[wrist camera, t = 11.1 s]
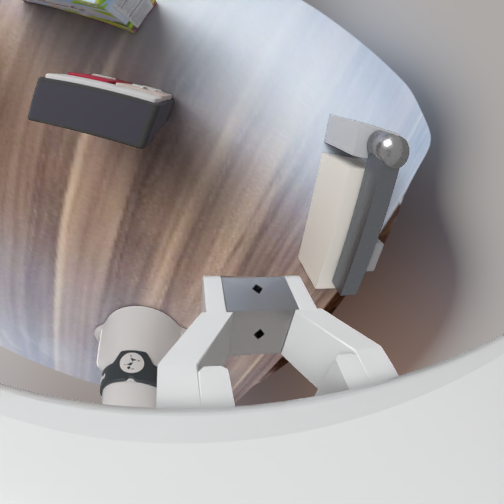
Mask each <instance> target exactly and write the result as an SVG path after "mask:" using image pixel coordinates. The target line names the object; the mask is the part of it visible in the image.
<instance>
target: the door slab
mask: <svg viewBox="0 0 504 504" xmlns="http://www.w3.org/2000/svg"><path fill="white" fill-rule="evenodd" d="M365 167H366V163H365V162H363V161H361V160H359V159H357V158H352V157H347V156H341V155H336V154H331V153H325V152H322V155H321V160H320V165H319V169H318V174H317V179H316V183H315V188H314V192H313V197H312V201H311V205H310V210H309V214H308V218H307V222H306V227H305V231H304V235H303V239H302V243H301V247H300V251H299V255H298V259H299V260H300V262H301V264H302V265H303V267H304V269H305V271H306V272H307V274H308V276H309V278H310V280H311V281H312V283H313V285H314V287H315V288H316V289H324V288H335V286H334V284H333V283H332V279H333V276H334V273H335V270H336V267H337V264H338V261H339V258H340V255H341V252H342V249H343V246H344V242H345V239H346V236H347V232H348V229H349V226H350V222H351V219H352V216H353V212H354V208H355V205H356V201H357V198H358V194H359V190H360V186H361V183H362V179H363V175H364V171H365ZM383 245H384V244H383V243H382V242H381V241H380V240H379V239H377V242H376V245H375V248H374V250H373V253H372V256H371V259H370V261H369V264H368V266H367V269H366V271H374V268H375V266H376V263H377V261H378V258H379V256H380V253H381V251H382V248H383Z"/></svg>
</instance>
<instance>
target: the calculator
mask: <svg viewBox="0 0 504 504" xmlns="http://www.w3.org/2000/svg"><path fill="white" fill-rule="evenodd" d="M171 98H172V95H171V94H168V93H165V92H163V90H159V89H156V88H152V87H149V86H146V85H142V86H141V85H137V84H132V83H130V82H126V81H122V80H118V79H116V78H113V77H109V76H104V75H100V74H93V73H92V74H82V73H71V72H68V73H67V74H46V76H45V77H40V78H39V79H38V81H37V85H36V88H35V92H34V95H33V99H32V103H31V106H30V111H29V115H28V119H29V120H32V121H36V122H41V123H45V124H50V125H54V126H58V127H63V128H67V129H71V130H75V131H79V132H83V133H87V134H90V135H94V136H98V137H102V138H105V139H109V140H112V141H116V142H120V143H123V144H126V145H130V146H133V147H137V148H141V149H144V148H146V146H147V145H148V144H149V143H150V142H151V141H152V139H153V137H154V135H155V133H156V132H157V131H158V130H159V129H160V128H161V127H162V126H163V125H164V124H165V123H166V121H167V119H168V116H169V114H170V112H171V109H172V107H173V104H174V102H175V101H174V100H172V99H171Z"/></svg>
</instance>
